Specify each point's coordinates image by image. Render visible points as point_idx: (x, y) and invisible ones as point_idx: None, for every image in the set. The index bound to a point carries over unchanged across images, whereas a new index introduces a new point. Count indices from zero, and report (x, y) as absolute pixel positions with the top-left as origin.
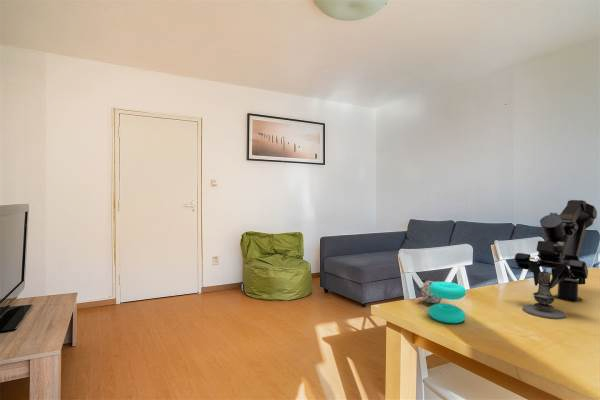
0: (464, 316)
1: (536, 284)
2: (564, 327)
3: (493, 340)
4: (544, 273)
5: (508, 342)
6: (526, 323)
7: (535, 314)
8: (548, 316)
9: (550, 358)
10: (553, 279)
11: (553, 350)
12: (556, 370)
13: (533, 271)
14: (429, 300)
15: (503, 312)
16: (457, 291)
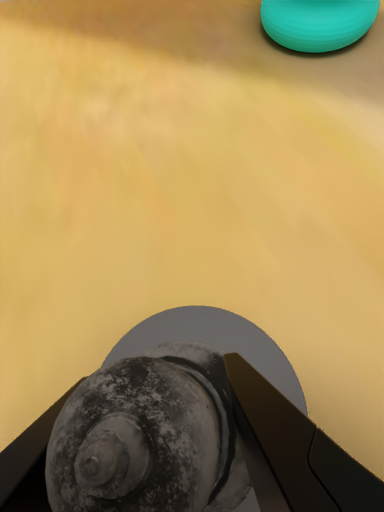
0: (266, 18)
1: (225, 370)
2: (58, 272)
3: (150, 24)
4: (105, 372)
5: (124, 40)
6: (163, 185)
7: (188, 307)
8: (136, 327)
9: (36, 48)
10: (27, 442)
11: (40, 81)
12: (17, 22)
13: (349, 461)
14: None
15: (287, 222)
16: None
